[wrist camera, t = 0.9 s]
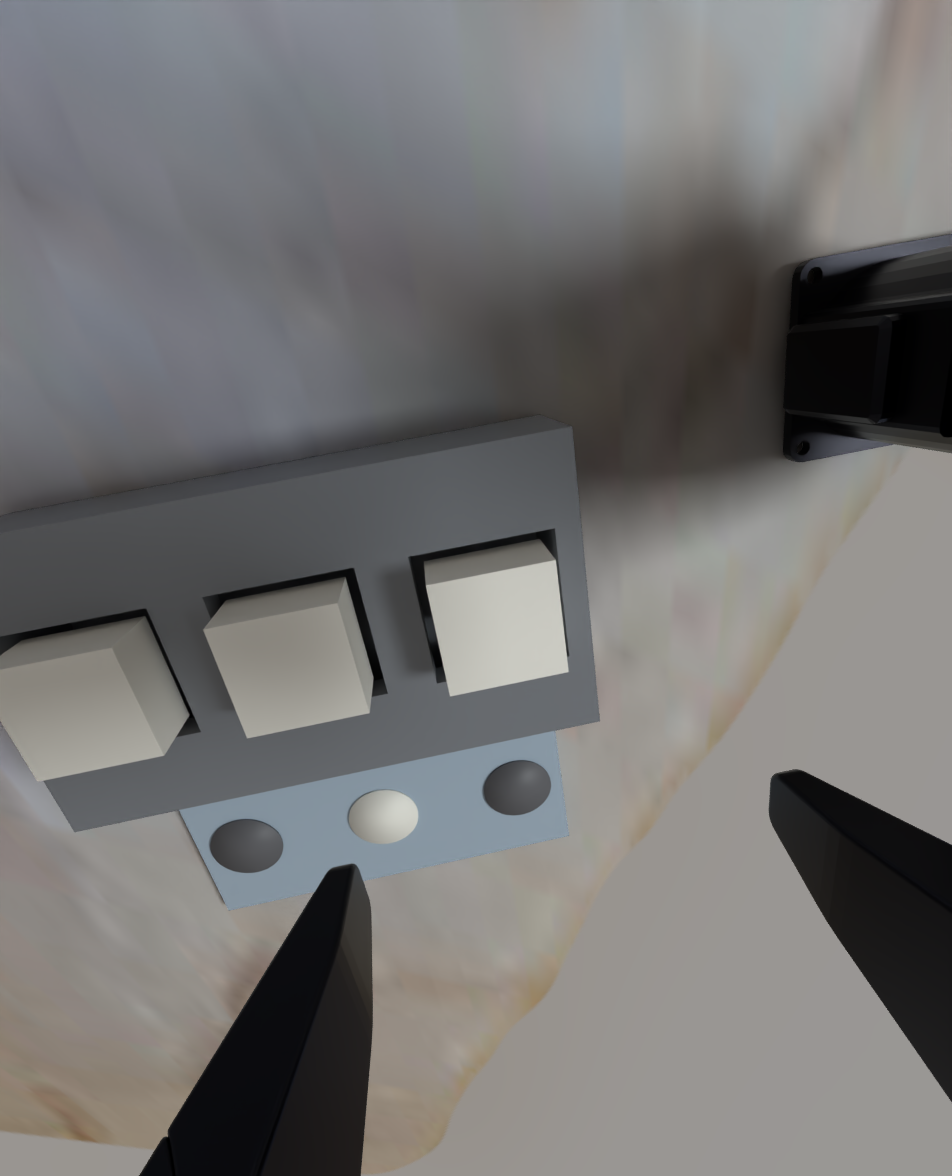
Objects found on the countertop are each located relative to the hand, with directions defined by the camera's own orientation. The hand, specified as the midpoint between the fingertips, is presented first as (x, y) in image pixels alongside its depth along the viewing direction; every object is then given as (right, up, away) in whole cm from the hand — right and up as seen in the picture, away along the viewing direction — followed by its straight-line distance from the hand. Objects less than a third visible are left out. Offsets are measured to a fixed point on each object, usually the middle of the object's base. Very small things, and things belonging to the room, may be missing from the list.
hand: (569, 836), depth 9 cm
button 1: (-13, +1, +8) cm, 15 cm away
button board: (-7, +4, +12) cm, 14 cm away
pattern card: (-6, -6, +16) cm, 18 cm away
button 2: (-1, +3, +9) cm, 9 cm away
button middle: (-7, +2, +8) cm, 11 cm away
